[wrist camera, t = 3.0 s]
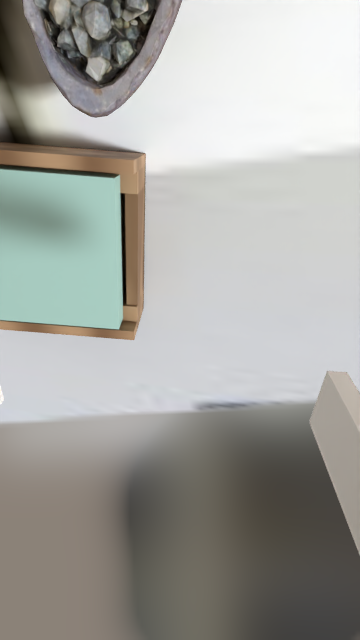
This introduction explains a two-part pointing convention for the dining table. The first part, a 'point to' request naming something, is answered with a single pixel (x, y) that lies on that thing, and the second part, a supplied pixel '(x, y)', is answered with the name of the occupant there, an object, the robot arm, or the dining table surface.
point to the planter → (100, 46)
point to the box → (131, 224)
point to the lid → (60, 247)
